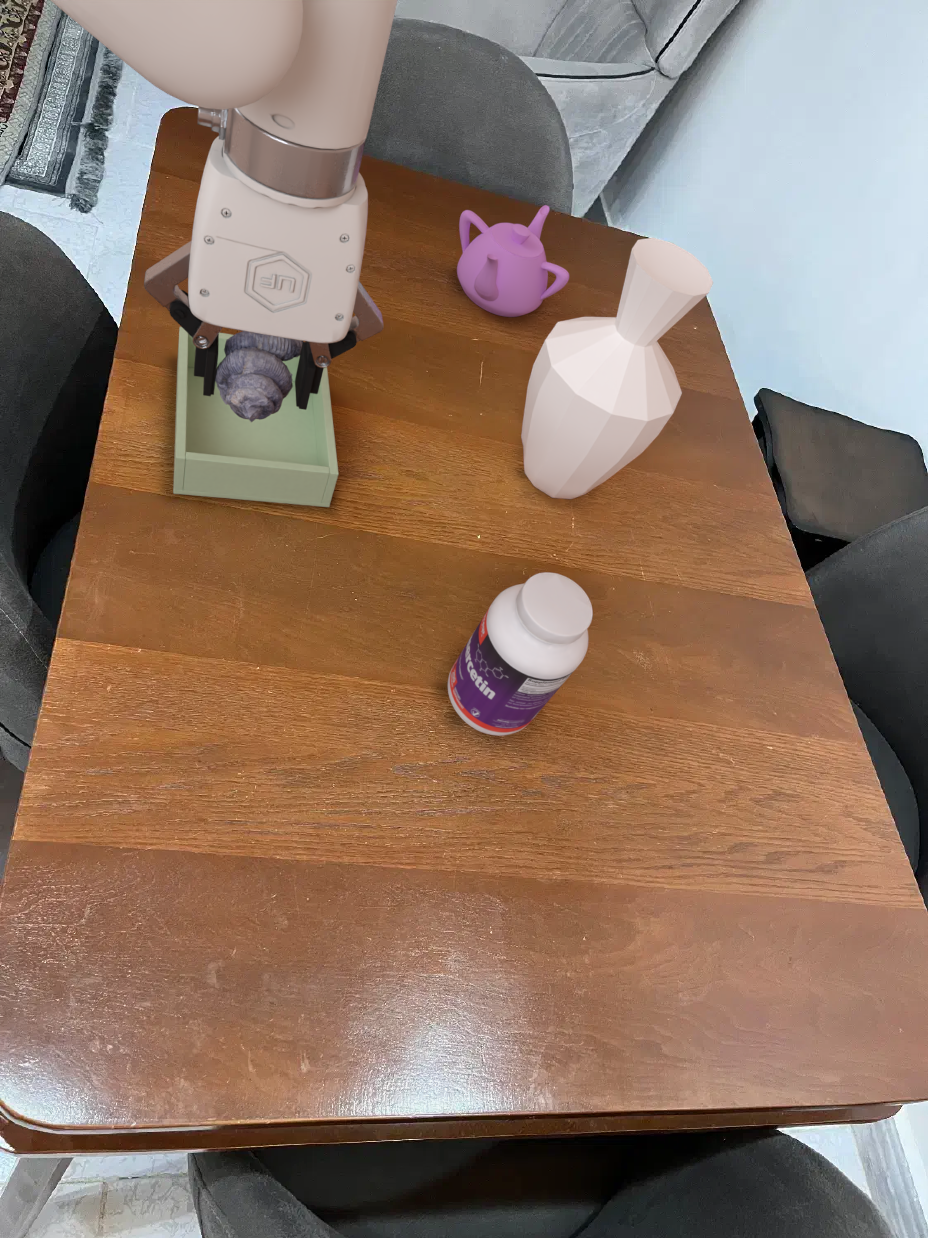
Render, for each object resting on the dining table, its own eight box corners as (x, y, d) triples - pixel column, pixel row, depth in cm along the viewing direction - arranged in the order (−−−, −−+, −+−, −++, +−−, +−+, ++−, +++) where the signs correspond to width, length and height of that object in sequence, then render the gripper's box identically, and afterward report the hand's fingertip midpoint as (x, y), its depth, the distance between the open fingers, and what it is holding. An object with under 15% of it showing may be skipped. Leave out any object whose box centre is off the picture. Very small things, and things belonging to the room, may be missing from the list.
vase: (613, 537, 87) (752, 345, 68) (485, 492, 85) (591, 279, 65) (618, 447, 96) (742, 254, 76) (502, 404, 94) (600, 193, 74)
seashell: (254, 360, 65) (239, 455, 59) (215, 304, 61) (195, 401, 55) (316, 340, 63) (306, 435, 58) (280, 281, 59) (266, 378, 54)
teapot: (464, 321, 100) (489, 255, 93) (440, 249, 107) (461, 183, 100) (552, 332, 105) (582, 271, 98) (524, 263, 112) (550, 201, 105)
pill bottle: (434, 658, 72) (491, 556, 60) (519, 654, 75) (588, 556, 63) (456, 745, 68) (522, 652, 56) (544, 737, 71) (623, 648, 59)
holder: (173, 493, 72) (175, 457, 69) (177, 363, 81) (179, 325, 78) (329, 507, 77) (338, 474, 74) (317, 383, 86) (325, 348, 82)
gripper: (123, 140, 42) (123, 409, 56) (449, 216, 48) (375, 442, 62) (133, 67, 46) (131, 335, 60) (432, 146, 52) (367, 373, 66)
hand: (255, 387), depth 61 cm, fingers closed on seashell, 5 cm apart
